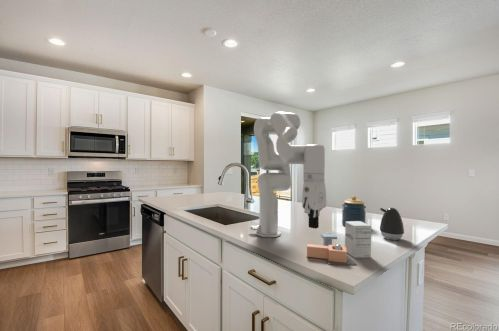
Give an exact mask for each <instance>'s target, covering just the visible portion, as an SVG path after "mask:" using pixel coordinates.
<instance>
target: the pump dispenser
mask: <svg viewBox="0 0 499 331" xmlns="http://www.w3.org/2000/svg"><path fill="white" fill-rule="evenodd" d="M379 210H380V211H381V212H383V215H382V218H381V220H380V225H379V231H380V234H381V236H382V237H383V238H385V239H386V240H389V241H399V240H400V239H402V237H403V235H404V234H405V227H404V221H403V219H402V217H401V214H400V213H399V211H398V209H397V208H394V207H388V208H387V209H385V208H383V207H380V208H379Z"/></svg>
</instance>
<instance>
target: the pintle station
mask: <svg viewBox="0 0 499 331" xmlns="http://www.w3.org/2000/svg"><path fill="white" fill-rule="evenodd" d="M341 246H342V245H341V244H338V243H337V244H336V243H335V250H341ZM324 260H325V262H326V264H327V265H328V266H330V265H331V266H357V263H356V262H355V261H354V260H353V259H352V258H351V257H350V256H349V254H347V263H344V262H335V261H329V259H324Z"/></svg>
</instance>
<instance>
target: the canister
mask: <svg viewBox="0 0 499 331" xmlns="http://www.w3.org/2000/svg"><path fill="white" fill-rule="evenodd" d="M364 204H365V202H364V201H363V200H361V199H359V198H358V199H357V196H355V195H352V196H351V198H346V199H345V200H343V204H341V206H342V210H341V212H342V216H341V218H342V220H341V223H342V224H341V225H342V226H343V227H345V222H346V221H361V222H364V223H366V218H367V217H366V213H367V212H366V208H367V207H366V205H364ZM366 224H367V223H366Z"/></svg>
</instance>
